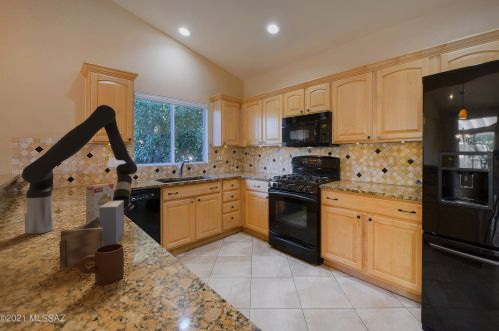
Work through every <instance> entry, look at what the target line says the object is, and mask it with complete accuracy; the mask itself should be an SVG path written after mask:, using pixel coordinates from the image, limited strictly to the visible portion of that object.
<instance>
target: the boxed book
mask: <svg viewBox="0 0 499 331" xmlns="http://www.w3.org/2000/svg"><path fill="white" fill-rule="evenodd" d="M124 210H125V209H124V201H108V202H107V203H105V204H104V205H102V206H101V207H100V208H99V216H100V222H99V228H102V227H103V246H104V245H109V244H119V242H120V241H121V239H122V237H124V234H125V215H124Z"/></svg>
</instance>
